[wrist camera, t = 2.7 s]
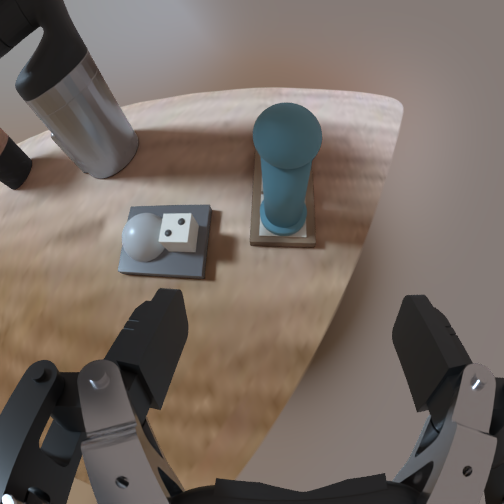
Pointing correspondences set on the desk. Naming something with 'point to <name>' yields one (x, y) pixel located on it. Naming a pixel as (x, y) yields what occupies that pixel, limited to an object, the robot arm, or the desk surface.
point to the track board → (266, 238)
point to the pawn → (285, 164)
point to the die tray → (173, 259)
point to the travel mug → (12, 162)
